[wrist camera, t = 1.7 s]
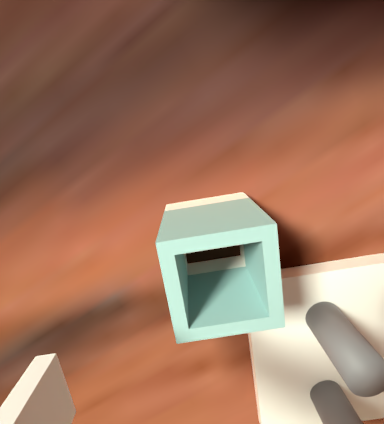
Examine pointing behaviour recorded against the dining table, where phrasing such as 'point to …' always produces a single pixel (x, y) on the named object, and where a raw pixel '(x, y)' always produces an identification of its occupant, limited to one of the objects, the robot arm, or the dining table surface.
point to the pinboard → (324, 346)
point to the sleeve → (220, 268)
